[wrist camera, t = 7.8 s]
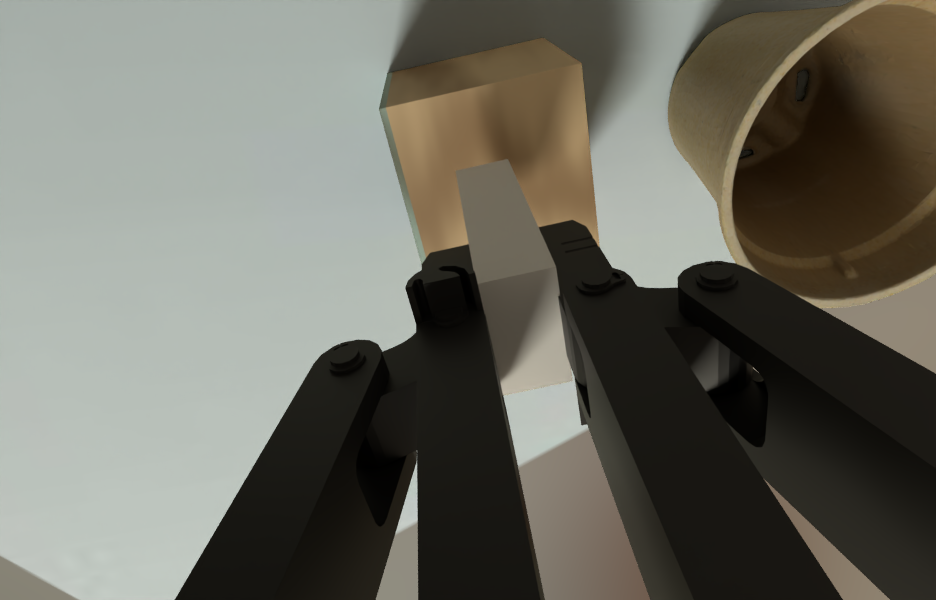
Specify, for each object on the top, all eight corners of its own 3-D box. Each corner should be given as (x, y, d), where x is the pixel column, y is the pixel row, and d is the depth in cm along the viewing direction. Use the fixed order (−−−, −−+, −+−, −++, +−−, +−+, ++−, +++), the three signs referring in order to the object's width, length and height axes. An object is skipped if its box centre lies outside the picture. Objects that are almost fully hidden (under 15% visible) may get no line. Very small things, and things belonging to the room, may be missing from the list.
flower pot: (886, 125, 25) (1085, 198, 18) (684, 246, 27) (784, 358, 20) (819, -96, 21) (1045, -123, 13) (585, 69, 23) (667, 126, 15)
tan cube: (379, 109, 17) (581, 62, 17) (387, 73, 22) (543, 37, 22) (426, 284, 20) (599, 247, 20) (424, 217, 26) (562, 187, 25)
